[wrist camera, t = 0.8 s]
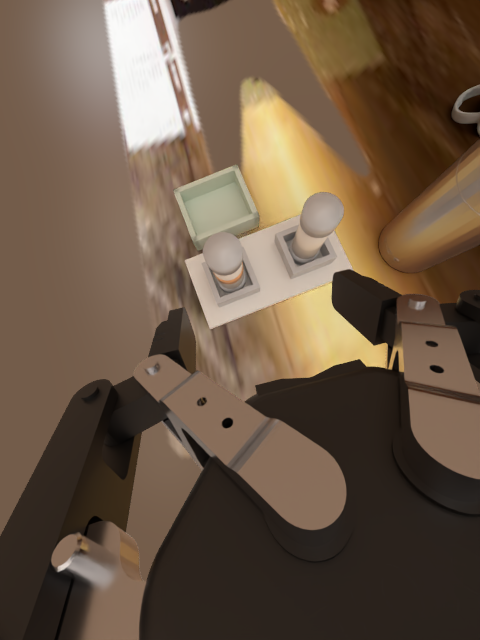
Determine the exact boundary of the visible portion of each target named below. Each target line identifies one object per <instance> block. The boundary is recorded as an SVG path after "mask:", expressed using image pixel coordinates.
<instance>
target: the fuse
mask: <svg viewBox="0 0 480 640" xmlns="http://www.w3.org/2000/svg"><path fill="white" fill-rule="evenodd" d="M343 214H344V207H343V204H342V202H341V201H340V199H339V198H338V197H337V196H335V195H333V194H331V193H327V192H320V193H316V194H314V195H312V196H310V197H309V198H308V199H307V201H306V202H305V204H304V207H303V210H302V213H301V216H300V223H299V226H298V229H297V232H296V234H295V237H294V238H293V240H292V242H291V244H290V247H289V251H290V254H291V256H292V258H293V260H294V263H295V264H297V265H304V264H306V263H309V262H311V261H314V259H315V258H316V256H317V255H318V254H319V251H320V248H321V247H322V245H323V243H324V242H325V240H326V239H327V237H328V236H329V235H330V234H331V233H332V232H333V231H334V230H335V228H336V227H337V225H338V224H339V223H340V221H341V220H342V218H343Z"/></svg>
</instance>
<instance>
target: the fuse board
mask: <svg viewBox="0 0 480 640" xmlns="http://www.w3.org/2000/svg"><path fill="white" fill-rule="evenodd" d="M300 216H301V214H300V215H298V216H295V217H293V218H290V219H288V220H285V221H283V222H280V223H278V224H275V225H273V226H270V227H268V228H265V229H263V230H260V231H258V232H255V233H253V234H250V235H248V236H245V237H242V238H240V239H239V241H240V243H241V245H242V252H243V269H244V271H245V276H246V283H245V286H244V287H243V289H240V290H238V291H235V292H233V293H226V292H224V291H223V290H222V289H221V288H220V286H219V284H218V282H217V279H216V277H215V275H214V273H213V271H212V270H211V269H210V268H209V266H208V265H207V263H206V261H205V259H204V256H203V253H202V254H200V255H197V256H195V257H192V258H190V259H187V260H185V263H186V265H187V268H188V271H189V274H190V276H191V279H192V282H193V284H194V287H195V290H196V293H197V295H198V298H199V301H200V303H201V306H202V309H203V312H204V314H205V317H206V320H207V322H208V325H209V328H210V329H213V328H216V327H218V326H221V325H224V324H226V323H229V322H231V321H234V320H236V319H239V318H241V317H244V316H246V315H249V314H252V313H254V312H257V311H259V310H262V309H264V308H267V307H269V306H272V305H274V304H277V303H280V302H282V301H285V300H287V299H290V298H292V297H295V296H297V295H300V294H302V293H305V292H307V291H310V290H313V289H315V288H318V287H320V286H323V285H325V284H328V283H330V282H332V281H333V274H334V273H335V272H338V271H343V270H347V269H351V270H353V268H352V266H351V264H350V262H349V260H348V258H347V256H346V254H345V252H344V249H343V247H342V245H341V243H340V241H339V239H338V237H337V235H336V233H335V231H333V232H332V233H331V234H330V235H329V236H328V237H327V239H326V240H325V242H324V243H323V245H322V247H321V248H320V251H319V254H318V255H317V256H316V258H315V259H314V261H311V262H309V263H306V264H304V265H297V264H295V263H294V260H293V258H292V256H291V254H290V251H289V247H290V244H291V242H292V240H293V238H294V237H295V234H296V232H297V229H298V226H299V223H300ZM353 271H354V270H353Z"/></svg>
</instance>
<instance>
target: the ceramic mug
mask: <svg viewBox="0 0 480 640" xmlns="http://www.w3.org/2000/svg"><path fill="white" fill-rule="evenodd" d="M477 95H480V85H478V86H475V87H472V88H470V89H468V90H466V91H465V92H464V93H462V94H461V95H460V96H459V97H458V99H457V100H456V102H455V104H454V107H453V110H452V119H453V120H454V121H456V122H458V123H461V124H472V123H478V127H477V131H478V134H479V135H480V112H479V113H466V112H462V111H460V110H459V107H460V106H461V104H462V102H463V101H464V100H466V99H468V98H471V97H473V96H477Z"/></svg>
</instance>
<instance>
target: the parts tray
mask: <svg viewBox="0 0 480 640" xmlns="http://www.w3.org/2000/svg"><path fill="white" fill-rule="evenodd" d="M173 191H174V194H175V196H176V199H177V202H178V204H179V207H180V209H181V212H182V215H183V217H184V220H185V223H186V225H187V228H188V231H189V233H190V236H191V238H192V241H193V243H194V245H195V247H196V248H197V250H198V251H199V250H202V249H203V247H204V244H205V242H206V241H207V239H208V238H209V237H210V236H212V235H213V234H216V233H219V232H227V233H231V234H233V235H234V236H237V235H239V234H242V233H244V232H247V231H249V230H252V229H254V228H257V227H259V214H258V212H257V209H256V207H255V205H254V202H253V200H252V198H251V195H250V193H249V191H248V188H247V186H246V184H245V182H244V179H243V177H242V175H241V172H240V170H239V168H238V165H237V164H236V165H234V166H231V167H229V168H226V169H224V170H222V171H219V172H216V173H214V174H211V175H209V176H206V177H204V178H201V179H199V180H197V181H194V182H192V183H189V184H187V185H184V186H182V187H179V188H177V189H174V190H173Z"/></svg>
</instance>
